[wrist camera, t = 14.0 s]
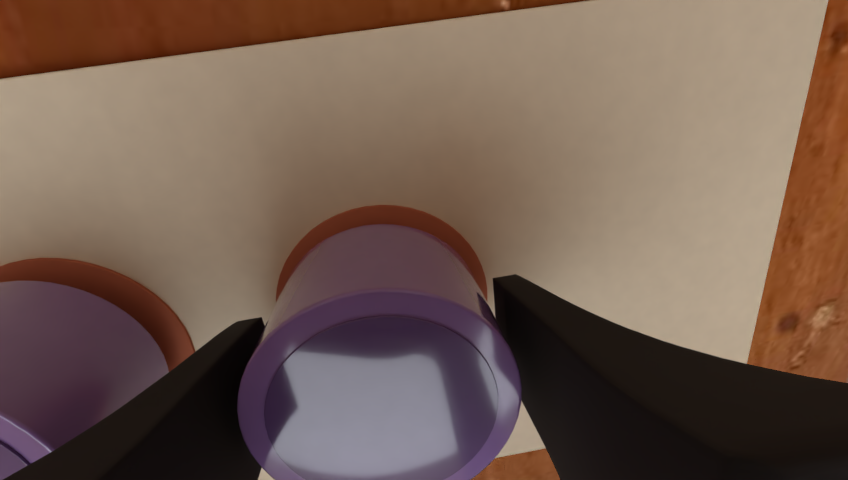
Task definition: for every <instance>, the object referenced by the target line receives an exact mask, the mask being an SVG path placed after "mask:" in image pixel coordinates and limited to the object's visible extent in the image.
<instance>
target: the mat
mask: <svg viewBox="0 0 848 480" xmlns="http://www.w3.org/2000/svg"><path fill="white" fill-rule="evenodd" d="M827 4H828V0H588V1H580V2H573V3H565V4H558V5H550V6H543V7H535V8H528V9H520V10H513V11H505V12H498V13H490V14H483V15H475V16H468V17H460V18H453V19H445V20H438V21H430V22H423V23H415V24H408V25H400V26H393V27H385V28H378V29H370V30H363V31H355V32H348V33H340V34H333V35H325V36H317V37H310V38H302V39H295V40H287V41H280V42H272V43H265V44H257V45H250V46H242V47H235V48H227V49H220V50H212V51H205V52H197V53H190V54H182V55H175V56H167V57H160V58H152V59H145V60H137V61H130V62H122V63H115V64H107V65H100V66H92V67H85V68H77V69H70V70H62V71H55V72H47V73H40V74H32V75H25V76H17V77H10V78H2V79H0V282H9V281H19V280H22V281H44V282H53V283H58V284H63V285H67V286H71V287H75V288H78V289H81V290H84V291H87V292H89V293H92V294H94V295H97V296H99V297H101V298H103V299H105V300H107V301H109V302H111V303H113V304H115V305H116V306H118V307H119V308H121V309H122V310H124V311H125V312H127V313H128V314H129V315H131V316H132V317H133V318H134V319H136V320H137V321H138V322H139V323H140V324H141V325H142V326H143V327H144V328H145V329H146V330H147V331H148V332H149V333H150V334H151V336H152V337H153V338H154V340H155V341H156V342H157V344H158V345H159V347H160V349H161V351H162V353H163V354H164V357H165V359H166V362H167V365H168V369H169V372H170V371H171V370H172V369H174V368H175V367H176V366H178V365H179V364H180V363H181V362H183V361H184V360H185V359H187V358H188V357H189V356H191V355H192V354H193V353H194V352H196V351H197V350H198V349H200V348H201V347H202V346H203V345H205V344H206V343H207V342H209V341H210V340H211V339H212V338H214V337H215V336H216V335H218V334H219V333H220V332H222V331H223V330H225V329H226V328H227V327H229V326H230V325H232V324H234V323H235V322H237V321H242V320H248V319H254V318H259V317H262V320H263V322H264V325H266V323H267V321H268V319H269V316H270V314H271V312H272V310H273V308H274V306H275V304H276V302H277V300H278V298H279V295H280V293H281V291H282V289H283V287H284V285H285V283H286V281H287V279H288V277H289V275H290V274H291V272H292V270H293V269H294V267H295V266H296V265H297V263H298V262H299V261H300V260H301V259H302V257H303V256H304V255H306V254H307V253H308V252H309V251H310V250H311V249H312V248H313V247H315V246H316V245H318V244H319V243H321V242H322V241H323V240H325V239H327V238H329V237H331V236H333V235H335V234H337V233H340V232H342V231H345V230H348V229H351V228H355V227H360V226H364V225H374V224H394V225H401V226H407V227H411V228H415V229H418V230H422V231H424V232H426V233H429V234H431V235H433V236H435V237H437V238H438V239H440V240H442V241H443V242H445V243H446V244H448V245H449V246H450V247H451V248H453V249H454V250H455V251H456V252H457V253H458V254H459V255H460V256H461V257H462V258H463V259H464V261H465V262H466V264H467V265H468V266H469V268H470V269H471V271H472V273H473V275H474V277H475V279H476V281H477V283H478V285H479V287H480V289H481V291H482V293H483V295H484V297H485V299H486V301H487V303H488V305H489V307H490V309H491V311H492V313H493V315H494V317H495V304H494V290H493V278H496V277H502V276H508V275H514V274H516V275H519V276H521V277H523V278H525V279H527V280H529V281H530V282H532V283H534V284H536V285H538V286H540V287H542V288H543V289H545V290H547V291H549V292H551V293H553V294H555V295H557V296H558V297H560V298H562V299H564V300H566V301H568V302H570V303H572V304H574V305H576V306H578V307H580V308H582V309H584V310H587V311H589V312H591V313H593V314H595V315H598V316H600V317H602V318H604V319H607V320H609V321H611V322H613V323H616V324H618V325H621V326H623V327H626V328H628V329H631V330H634V331H637V332H640V333H642V334H645V335H648V336H651V337H653V338H656V339H659V340H662V341H665V342H668V343H671V344H675V345H678V346H681V347H685V348H688V349H692V350H695V351H699V352H702V353H706V354H709V355H713V356H717V357H720V358H724V359H728V360H733V361H737V362H741V363H745V364H747V360H748V356H749V351H750V347H751V342H752V338H753V333H754V329H755V324H756V320H757V316H758V311H759V307H760V302H761V298H762V293H763V289H764V284H765V280H766V276H767V271H768V267H769V262H770V258H771V253H772V249H773V244H774V240H775V235H776V231H777V227H778V222H779V218H780V213H781V209H782V204H783V200H784V195H785V191H786V186H787V182H788V178H789V173H790V169H791V164H792V160H793V155H794V151H795V146H796V142H797V137H798V133H799V129H800V124H801V120H802V115H803V111H804V106H805V102H806V97H807V93H808V88H809V84H810V80H811V75H812V71H813V66H814V62H815V57H816V53H817V48H818V44H819V39H820V35H821V31H822V26H823V22H824V17H825V13H826V8H827ZM495 319H496V318H495ZM544 448H546V447H545V445H544V443H543V442H542V440H541V438H540V436H539V434H538V432H537V430H536V428H535V426H534V424H533V422H532V420H531V418H530V416H529V414H528V412H527V410H526V408H525V407H524V405H523V403H522V401H521V406H520V411H519V416H518V419H517V422H516V424H515V427H514V430H513V432H512V433H511V435H510V437H509V439H508V441H507V443H506V444H505V446H504V447H503V448H502V450H501V451H500V453H499V454H498V455H497V456H496V457H495V458H497V457H503V456H508V455H513V454H518V453H523V452H528V451H534V450H539V449H544ZM258 480H275V479H273V478H272V477H271V476H270V475H269V474H268V473H267V472H266V471H265V470H264V469H263V468H261V471H260V474H259V478H258Z"/></svg>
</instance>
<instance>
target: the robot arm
mask: <svg viewBox="0 0 848 480" xmlns="http://www.w3.org/2000/svg"><path fill="white" fill-rule="evenodd" d="M493 290H494V304H495V318H496V321H497V323H498V325H499V327H500V329H501V331H502V333H503V334H504V336H505V338H506V340H507V342H508V344H509V346H510V348H511V350H512V352H513V354H514V356H515V358H516V361H517V365H518V368H519V371H520V377H521V385H522V394H521V401H522V403H523V405H524V407H525V408H526V410H527V412H528V414H529V416H530V418H531V420H532V422H533V424H534V426H535V428H536V430H537V432H538V434H539V436H540V438H541V440H542V442H543V443H544V445H545V447H546V449H547V451H548V453H549V455H550V457H551V460H552V462H553V464H554V466H555V468H556V470H557V472H558V475H559V477H560V480H848V383H843V382H837V381H831V380H824V379H818V378H812V377H806V376H801V375H796V374H791V373H787V372H782V371H777V370H772V369H768V368H763V367H758V366H754V365H749V364H745V363H741V362H737V361H733V360H728V359H724V358H720V357H717V356H713V355H709V354H706V353H702V352H699V351H695V350H692V349H688V348H685V347H681V346H678V345H675V344H671V343H668V342H665V341H662V340H659V339H656V338H653V337H651V336H648V335H645V334H642V333H640V332H637V331H634V330H631V329H628V328H626V327H623V326H621V325H618V324H616V323H613V322H611V321H609V320H607V319H604V318H602V317H600V316H598V315H595V314H593V313H591V312H589V311H587V310H584V309H582V308H580V307H578V306H576V305H574V304H572V303H570V302H568V301H566V300H564V299H562V298H560V297H558V296H557V295H555V294H553V293H551V292H549V291H547V290H545V289H543V288H542V287H540V286H538V285H536V284H534V283H532V282H530V281H529V280H527V279H525V278H523V277H521V276H519V275H516V274H514V275H508V276H502V277H496V278H493ZM264 327H265V325H264V322H263V320H262V317H259V318H254V319H248V320H242V321H237V322H235V323H234V324H232V325H230V326H229V327H227V328H226V329H225V330H223V331H222V332H220V333H219V334H218V335H216V336H215V337H214V338H212V339H211V340H210V341H209V342H207V343H206V344H205V345H203V346H202V347H201V348H200V349H198V350H197V351H196V352H194V353H193V354H192V355H191V356H189V357H188V358H187V359H185V360H184V361H183V362H181V363H180V364H179V365H178V366H176V367H175V368H174V369H172V370H171V371H170V372H169V373H167V374H166V375H165V376H163V377H162V378H160V379H159V380H158V381H156V382H155V383H154V384H152V385H151V386H149V387H148V388H147V389H145V390H144V391H143V392H141V393H140V394H138V395H137V396H136V397H134V398H133V399H132V400H130V401H129V402H127V403H126V404H125V405H123V406H122V407H120V408H119V409H118V410H116V411H115V412H113V413H112V414H110V415H109V416H107V417H106V418H104V419H103V420H101V421H100V422H98V423H97V424H95V425H94V426H92V427H90V428H89V429H87V430H86V431H84V432H83V433H81V434H79V435H78V436H76V437H75V438H73V439H72V440H70V441H68V442H67V443H65V444H64V445H62V446H60V447H59V448H57V449H55V450H54V451H52V452H50V453H49V454H47V455H45V456H43V457H42V458H40V459H38V460H36V461H35V462H33V463H31V464H29V465H28V466H26V467H24V468H22V469H21V470H19V471H17V472H15V473H14V474H12V475H10V476H8V477H7V478H5V479H3V480H258V478H259V474H260V471H261V468H262V467H261V466H260V465H259V464H258V463H257V461H256V460H255V459H254V457H253V456H252V454H251V453H250V451H249V449H248V447H247V445H246V443H245V441H244V439H243V436H242V433H241V430H240V427H239V420H238V413H237V396H238V390H239V385H240V381H241V377H242V375H243V372H244V370H245V367H246V365H247V363H248V361H249V358H250V356H251V354H252V352H253V350H254V348H255V346H256V344H257V342H258V340H259V337H260V335H261V333H262V331H263V329H264Z"/></svg>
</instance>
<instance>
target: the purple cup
mask: <svg viewBox="0 0 848 480" xmlns="http://www.w3.org/2000/svg"><path fill="white" fill-rule="evenodd" d="M521 394H522V385H521V377H520V371H519V368H518V365H517V361H516V358H515V356H514V354H513V352H512V350H511V348H510V346H509V344H508V342H507V340H506V338H505V336H504V334H503V333H502V331H501V329H500V327H499V325H498V323H497V321H496V319H495V317H494V315H493V313H492V311H491V309H490V307H489V305H488V303H487V301H486V299H485V297H484V295H483V293H482V291H481V289H480V287H479V285H478V283H477V281H476V279H475V277H474V275H473V273H472V271H471V269H470V268H469V266H468V265H467V264H466V262H465V261H464V259H463V258H462V257H461V256H460V255H459V254H458V253H457V252H456V251H455V250H454V249H453V248H451V247H450V246H449V245H448V244H446V243H445V242H443V241H442V240H440V239H438V238H437V237H435V236H433V235H431V234H429V233H426V232H424V231H422V230H418V229H415V228H411V227H407V226H401V225H394V224H374V225H364V226H360V227H355V228H351V229H348V230H345V231H342V232H340V233H337V234H335V235H333V236H331V237H329V238H327V239H325V240H323V241H322V242H321V243H319V244H318V245H316V246H315V247H313V248H312V249H311V250H310V251H309V252H308V253H307V254H306V255H304V256H303V257H302V259H301V260H300V261H299V262H298V263H297V265H296V266H295V267H294V269H293V270H292V272H291V274H290V275H289V277H288V279H287V281H286V283H285V285H284V287H283V289H282V291H281V293H280V295H279V298H278V300H277V302H276V304H275V306H274V308H273V310H272V312H271V314H270V316H269V319H268V321H267V323H266V325H265V327H264V329H263V331H262V333H261V335H260V337H259V340H258V342H257V344H256V346H255V348H254V350H253V352H252V354H251V356H250V358H249V361H248V363H247V365H246V367H245V370H244V372H243V375H242V377H241V381H240V385H239V390H238V396H237V413H238V420H239V427H240V430H241V433H242V436H243V439H244V441H245V443H246V445H247V447H248V449H249V451H250V453H251V454H252V456H253V457H254V459H255V460H256V461H257V463H258V464H259V465H260V466H261V467H262V468H263V469H264V470H265V471H266V472H267V473H268V474H269V475H270V476H271V477H272V478H273V479H275V480H471V479H472V478H473V477H475V476H476V475H478V474H479V473H480V472H481V471H482V470H483V469H484V468H486V467H487V466H488V465H489V464H490V463H491V462H492V461H493V459H494V458H495V457H496V456H497V455H498V454H499V453H500V451H501V450H502V448H503V447H504V446H505V444H506V443H507V441H508V439H509V437H510V435H511V433H512V432H513V430H514V427H515V424H516V422H517V419H518V416H519V411H520V406H521Z"/></svg>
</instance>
